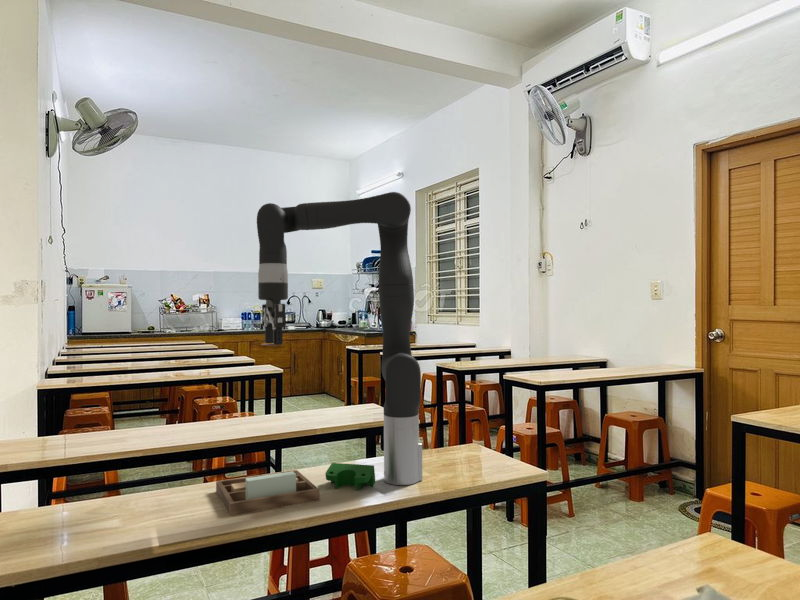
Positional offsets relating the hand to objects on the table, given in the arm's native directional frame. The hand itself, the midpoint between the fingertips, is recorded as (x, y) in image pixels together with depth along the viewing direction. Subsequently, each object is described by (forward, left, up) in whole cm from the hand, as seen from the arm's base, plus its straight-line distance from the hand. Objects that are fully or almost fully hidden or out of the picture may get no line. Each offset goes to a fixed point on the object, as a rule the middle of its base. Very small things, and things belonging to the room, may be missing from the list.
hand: (273, 343), depth 145 cm
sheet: (+11, +17, -32) cm, 38 cm away
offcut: (+9, +11, -35) cm, 38 cm away
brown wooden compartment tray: (+5, +12, -36) cm, 38 cm away
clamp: (-15, +15, -36) cm, 42 cm away
